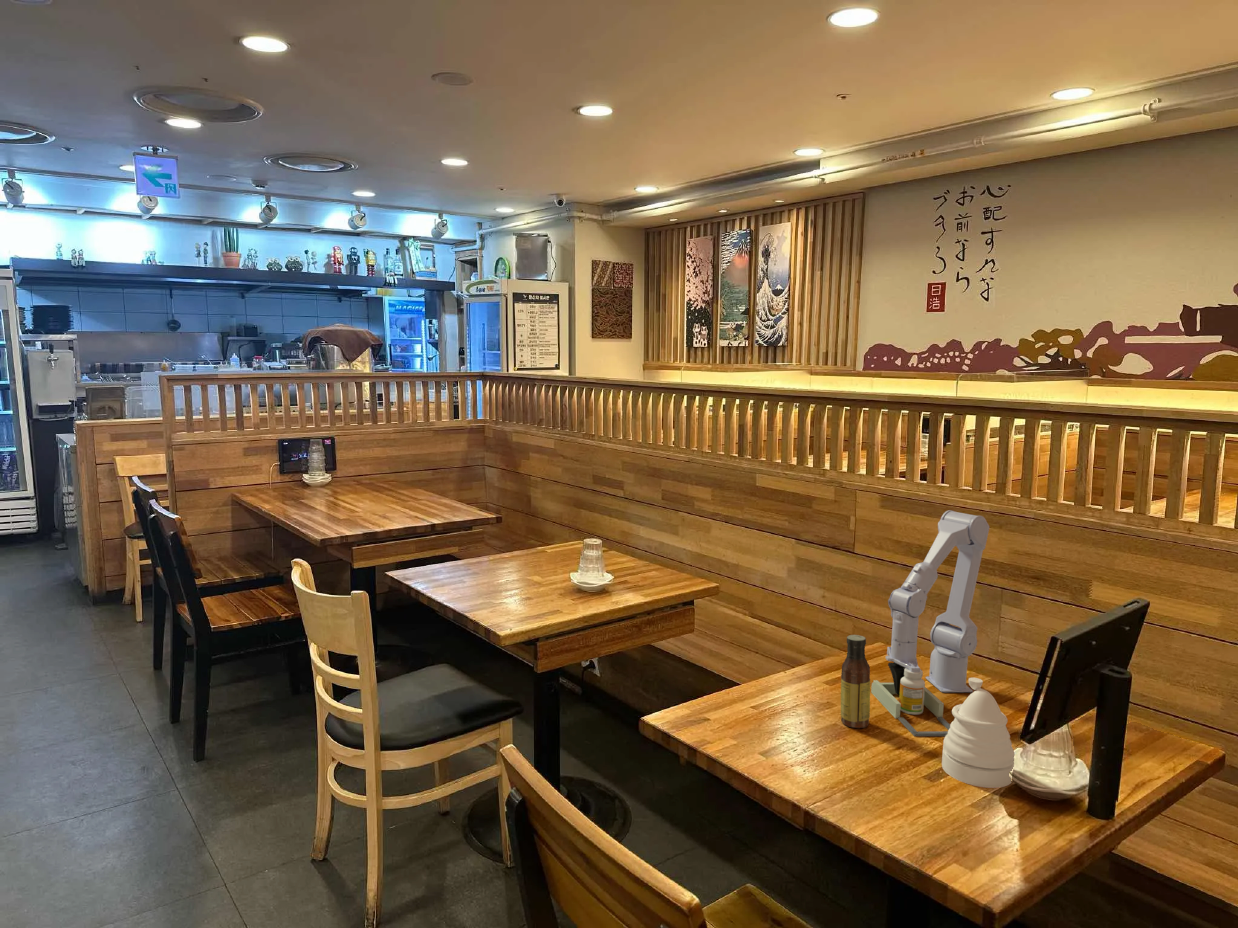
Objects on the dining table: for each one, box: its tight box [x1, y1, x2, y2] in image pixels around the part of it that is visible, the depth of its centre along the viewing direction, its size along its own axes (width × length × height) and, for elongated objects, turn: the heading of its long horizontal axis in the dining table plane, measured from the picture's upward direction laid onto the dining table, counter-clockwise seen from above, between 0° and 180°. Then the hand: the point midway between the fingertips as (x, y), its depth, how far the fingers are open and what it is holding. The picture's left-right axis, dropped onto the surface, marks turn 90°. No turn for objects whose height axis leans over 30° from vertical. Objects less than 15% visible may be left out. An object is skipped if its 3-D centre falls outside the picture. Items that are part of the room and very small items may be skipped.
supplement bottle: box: [898, 668, 926, 716], centre depth 189 cm, size 5×5×10 cm
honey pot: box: [941, 677, 1015, 789], centre depth 160 cm, size 13×13×18 cm
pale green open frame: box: [870, 679, 944, 720], centre depth 192 cm, size 15×11×4 cm
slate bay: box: [897, 716, 951, 737], centre depth 180 cm, size 8×10×1 cm
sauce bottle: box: [840, 634, 871, 729], centre depth 180 cm, size 7×6×20 cm
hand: (900, 694), depth 195 cm, fingers closed
